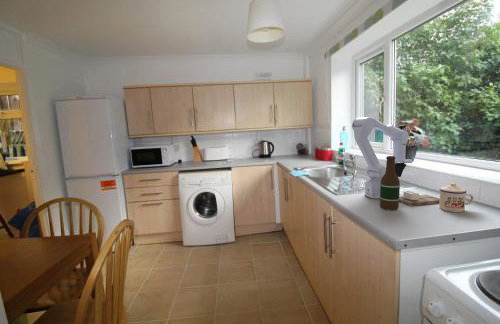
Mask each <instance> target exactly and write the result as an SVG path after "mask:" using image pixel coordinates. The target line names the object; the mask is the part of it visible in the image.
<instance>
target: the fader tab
mask: <svg viewBox="0 0 500 324" xmlns="http://www.w3.org/2000/svg"><path fill="white" fill-rule="evenodd" d="M402 192H403V193H402V194H403V195H402V197H403V198H406V199H409V200H419V195H420V193H419V192H415V191H413V190H407V191H402Z"/></svg>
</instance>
